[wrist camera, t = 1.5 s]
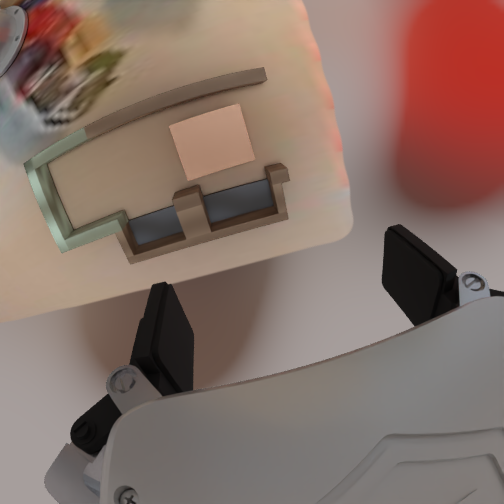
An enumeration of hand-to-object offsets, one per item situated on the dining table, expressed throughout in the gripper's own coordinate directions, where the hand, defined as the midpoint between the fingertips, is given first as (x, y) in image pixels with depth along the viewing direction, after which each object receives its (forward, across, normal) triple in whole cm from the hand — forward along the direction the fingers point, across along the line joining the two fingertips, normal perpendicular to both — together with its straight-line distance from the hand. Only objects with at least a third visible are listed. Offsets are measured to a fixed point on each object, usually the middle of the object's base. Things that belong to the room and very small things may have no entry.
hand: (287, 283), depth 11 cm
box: (+23, +10, -2) cm, 25 cm away
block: (+23, +2, -4) cm, 24 cm away
